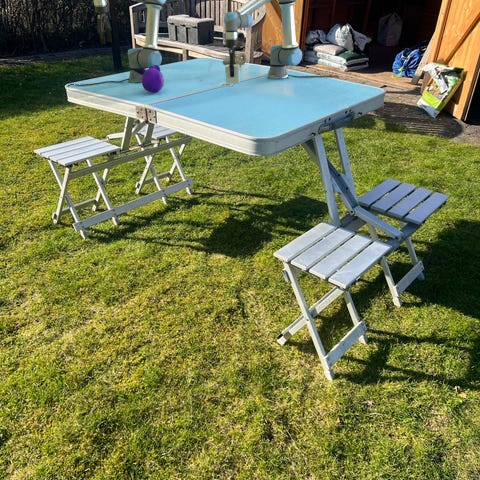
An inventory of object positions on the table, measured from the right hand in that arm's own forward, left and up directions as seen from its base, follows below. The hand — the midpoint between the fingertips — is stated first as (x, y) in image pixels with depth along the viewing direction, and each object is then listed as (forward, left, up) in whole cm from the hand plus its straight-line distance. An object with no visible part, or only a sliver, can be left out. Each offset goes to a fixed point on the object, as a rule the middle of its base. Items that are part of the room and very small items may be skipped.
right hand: (232, 75), depth 301 cm
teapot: (-17, -72, -10) cm, 74 cm away
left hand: (+79, -19, +22) cm, 84 cm away
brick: (0, 0, -4) cm, 4 cm away
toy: (+54, -15, -10) cm, 57 cm away
